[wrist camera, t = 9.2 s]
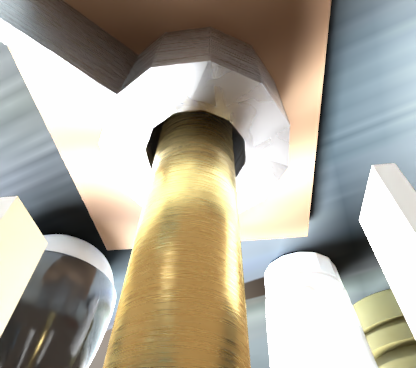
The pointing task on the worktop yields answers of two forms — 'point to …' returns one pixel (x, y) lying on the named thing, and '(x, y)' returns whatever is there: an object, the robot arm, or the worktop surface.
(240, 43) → the white piece
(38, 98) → the mount board
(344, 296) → the white cup
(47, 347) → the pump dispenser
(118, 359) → the pin
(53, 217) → the worktop surface
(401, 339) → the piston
